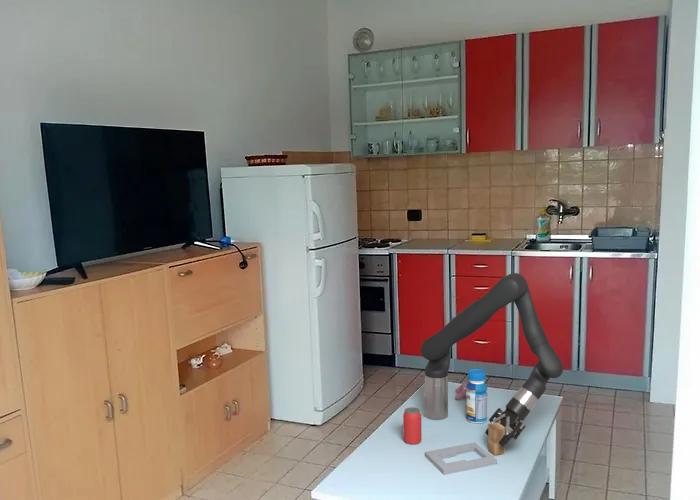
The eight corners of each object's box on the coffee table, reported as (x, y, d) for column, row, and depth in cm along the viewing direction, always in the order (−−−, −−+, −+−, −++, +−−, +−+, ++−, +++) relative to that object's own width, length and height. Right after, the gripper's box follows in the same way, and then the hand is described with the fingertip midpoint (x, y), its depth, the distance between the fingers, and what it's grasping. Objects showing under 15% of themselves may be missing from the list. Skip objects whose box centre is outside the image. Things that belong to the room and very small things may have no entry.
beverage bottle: (486, 425, 226) (486, 375, 224) (464, 422, 229) (464, 373, 226) (488, 417, 234) (488, 369, 231) (467, 414, 237) (467, 367, 234)
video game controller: (463, 404, 252) (471, 390, 251) (454, 399, 252) (461, 385, 251) (463, 395, 262) (470, 382, 260) (454, 391, 262) (461, 378, 261)
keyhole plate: (474, 446, 208) (474, 442, 208) (496, 463, 195) (496, 459, 195) (424, 456, 202) (424, 451, 202) (443, 474, 189) (443, 470, 189)
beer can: (423, 439, 215) (423, 408, 214) (418, 446, 209) (417, 414, 208) (407, 436, 218) (406, 405, 217) (401, 443, 212) (400, 412, 211)
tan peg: (497, 449, 206) (498, 422, 205) (504, 454, 202) (504, 426, 201) (488, 451, 205) (488, 424, 203) (494, 456, 201) (494, 428, 200)
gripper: (503, 390, 210) (476, 426, 208) (528, 404, 197) (498, 442, 195) (516, 402, 213) (488, 437, 210) (540, 417, 199) (512, 454, 197)
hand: (493, 439), depth 202 cm, fingers open, 8 cm apart
